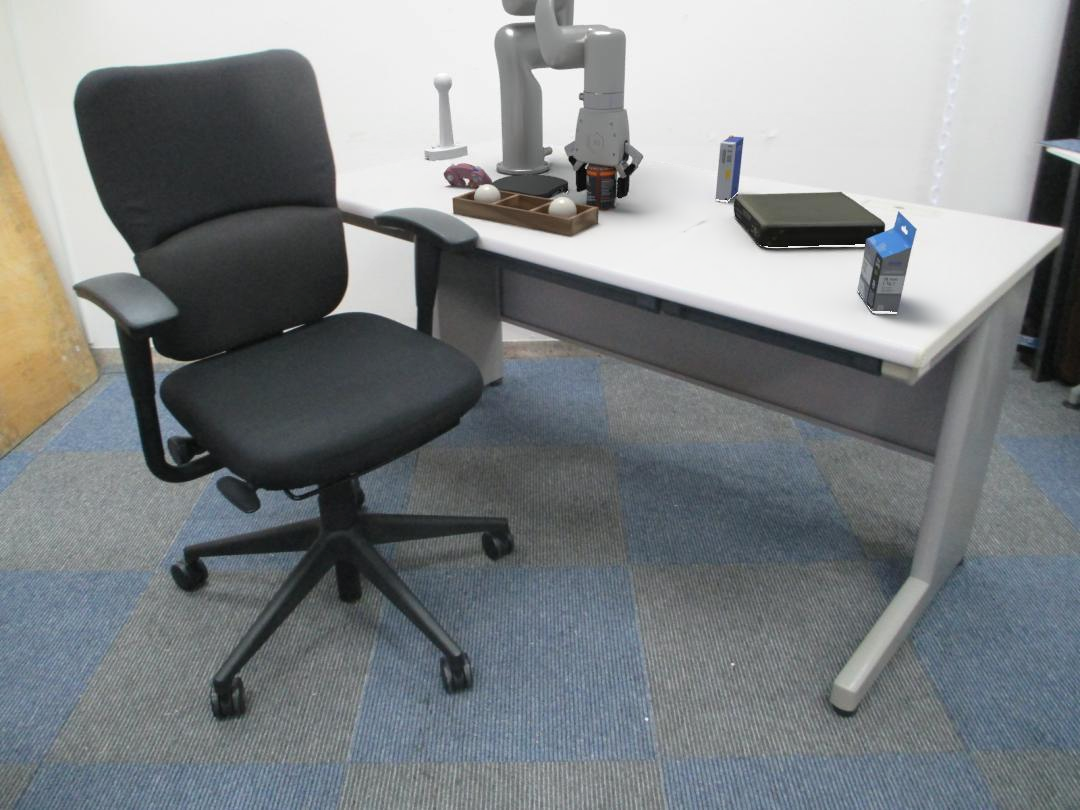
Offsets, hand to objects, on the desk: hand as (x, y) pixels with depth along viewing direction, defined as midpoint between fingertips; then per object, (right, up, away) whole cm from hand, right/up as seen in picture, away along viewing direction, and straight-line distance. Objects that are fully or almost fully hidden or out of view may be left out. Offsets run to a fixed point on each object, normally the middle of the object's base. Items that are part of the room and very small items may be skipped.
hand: (601, 193), depth 161 cm
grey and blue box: (+37, -27, -43) cm, 62 cm away
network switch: (+36, -10, -12) cm, 39 cm away
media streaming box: (-15, +3, +14) cm, 21 cm away
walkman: (+27, +1, +9) cm, 28 cm away
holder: (-15, -7, -5) cm, 17 cm away
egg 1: (-22, -4, -1) cm, 23 cm away
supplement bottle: (0, -3, +2) cm, 4 cm away
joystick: (-37, +22, +48) cm, 64 cm away
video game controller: (-28, +5, +18) cm, 34 cm away
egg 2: (-8, -8, -10) cm, 15 cm away
